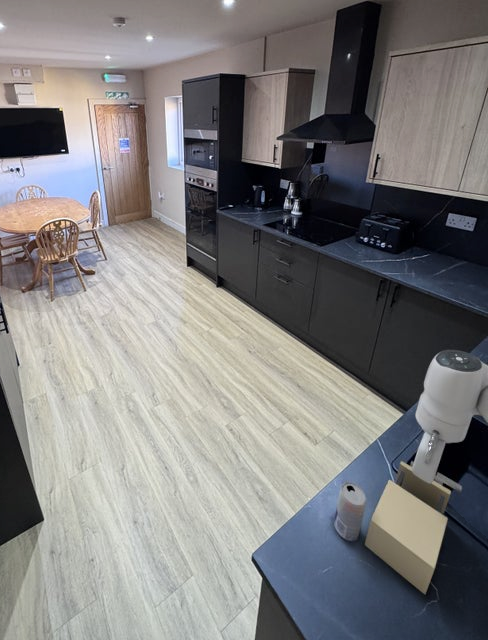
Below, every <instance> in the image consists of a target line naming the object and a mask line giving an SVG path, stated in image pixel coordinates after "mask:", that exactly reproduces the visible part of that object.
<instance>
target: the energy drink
mask: <svg viewBox="0 0 488 640" xmlns="http://www.w3.org/2000/svg"><path fill="white" fill-rule="evenodd" d="M366 506H367V498H366V494H365V492H364V490H363V489H362V488H361V486H359V485H358V484H356V483H354V482H350V481H347V482H344V483H343V484H342V485H341V487H340V488H339V493H338V499H337V504H336V508H335V513H334V514H335V515H334V519H333V524H334V528H335V531H336V532H337V533H338V534H339V536H340V537H342V538H343V539H344V540H345V541H346V540H347V541H350V542H354V541H356V540H358V539H359V535H360V531H361V526H362V523H363V520H364V519H363V518H364V513H365V510H366Z"/></svg>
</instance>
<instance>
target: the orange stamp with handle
mask: <svg viewBox="0 0 488 640" xmlns="http://www.w3.org/2000/svg"><path fill="white" fill-rule="evenodd" d="M435 475H436V478H437V479H439V480H440V481H442V482H443V484H446V485H447V486H448V487H450V488H452V489H453V490H455V491H457V492H459V493H461V492H462V489H463V486H462V485H461V484H459V483H458V482H456V481H454V480H452V479H451V478H448V476H445V475H443V474H442V473H440V472H439V471H436V474H435Z"/></svg>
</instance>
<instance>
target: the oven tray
mask: <svg viewBox="0 0 488 640" xmlns="http://www.w3.org/2000/svg"><path fill="white" fill-rule="evenodd" d="M413 464H414V461H413V460H411V462H410V465H409V464H407V463H406V462H404V461H402V460H401V461H400V463H399V467H398V470H397V474H396V478H395V484H397V485H398V486H400V487H401V488H403V489H404V490H406V491H407V492H409V493H410V494H412V495H413V496H415V497H416V498H418V499H419V500H421V501H422V502H424V503H426V504H427V505H429V506H430V507H432V508H433V509H435V510H436V511H438V512H439V513H441V514H442V515H444V514H445V511H446V508H447V506H448V502H449V500H450V497H451V494H452V491H451V490H450V489H449V488H447V487H445V486H444V485H443V484H444V482H442V481H440V480H439V479H437V478H436V474H435V477H434V480H433V482H432V483H431V484H429V483H427V482H425V481H424V480H422V479H420V478H419V477H417V476H416V475H414V474H413V472H412V467H413Z"/></svg>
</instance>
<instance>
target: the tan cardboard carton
mask: <svg viewBox="0 0 488 640" xmlns="http://www.w3.org/2000/svg"><path fill="white" fill-rule="evenodd" d="M448 520H449V519H448V517H447V516H445V515H444V514H443V513H439V512H438V511H436V509H435V508H433V507H432V506H430V505H429V504H427V503H426V502H424V501H423V500H421V499H420V498H418V497H417V496H415V495H414V494H412V493H411V492H409V491H408V490H406V489H405V488H403V487H402V486H401V487H400V486H398V485H397V484H396V482H395V481H392V480H391V479H388V481H387V483H386V486H385V488H384V490H383V492H382V494H381V496H380V499H379V501H378V503H377V505H376V507H375V509H374V512H373V514H372V516H371V518H370V522H369V526H368V529H367V534H366V536H365V537H366V538H365V542H364V546H365V547H366V548H367V549H369V550H370V551H371V552H373V553H374V554H375V555H376V556H377V557H379V558H380V559H381V560H382V561H383V562H385V564H387V565H388V566H390V567H391V568H392V569H393V570H394V571H395V572H397V573H398V574H399V575H400V576H402V578H404V579H405V580H407V581H408V582H409V583H410V584H411V585H412V586H414V587H415V588H416V589H417V590H419V591H420V592H421V593H422V594H424V595H426V594H427V592H428V588H429V585H430V583H431V580H432V577H433V575H434V572H435V569H436V565H437V563H438V558H439V555H440V552H441V551H440V550H441V547H442V544H443V543H442V542H443V539H444V536H445V532H446V528H447V524H448Z"/></svg>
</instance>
